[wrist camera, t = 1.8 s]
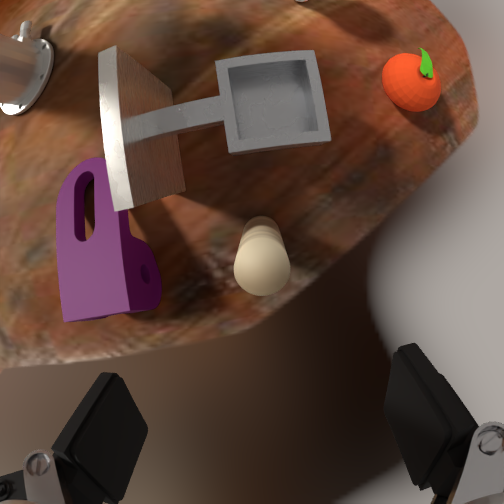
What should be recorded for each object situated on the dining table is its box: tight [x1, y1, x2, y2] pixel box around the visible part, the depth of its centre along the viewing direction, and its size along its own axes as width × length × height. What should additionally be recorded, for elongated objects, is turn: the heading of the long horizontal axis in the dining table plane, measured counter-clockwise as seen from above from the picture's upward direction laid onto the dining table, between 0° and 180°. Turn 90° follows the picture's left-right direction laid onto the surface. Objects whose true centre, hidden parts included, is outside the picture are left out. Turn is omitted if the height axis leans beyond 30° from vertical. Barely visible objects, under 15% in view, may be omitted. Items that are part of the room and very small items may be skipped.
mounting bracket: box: [56, 158, 162, 322], centre depth 31 cm, size 10×8×18 cm
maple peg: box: [234, 216, 290, 296], centre depth 26 cm, size 4×4×12 cm
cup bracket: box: [98, 46, 331, 211], centre depth 22 cm, size 12×15×14 cm
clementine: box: [382, 48, 441, 112], centre depth 23 cm, size 8×7×7 cm
